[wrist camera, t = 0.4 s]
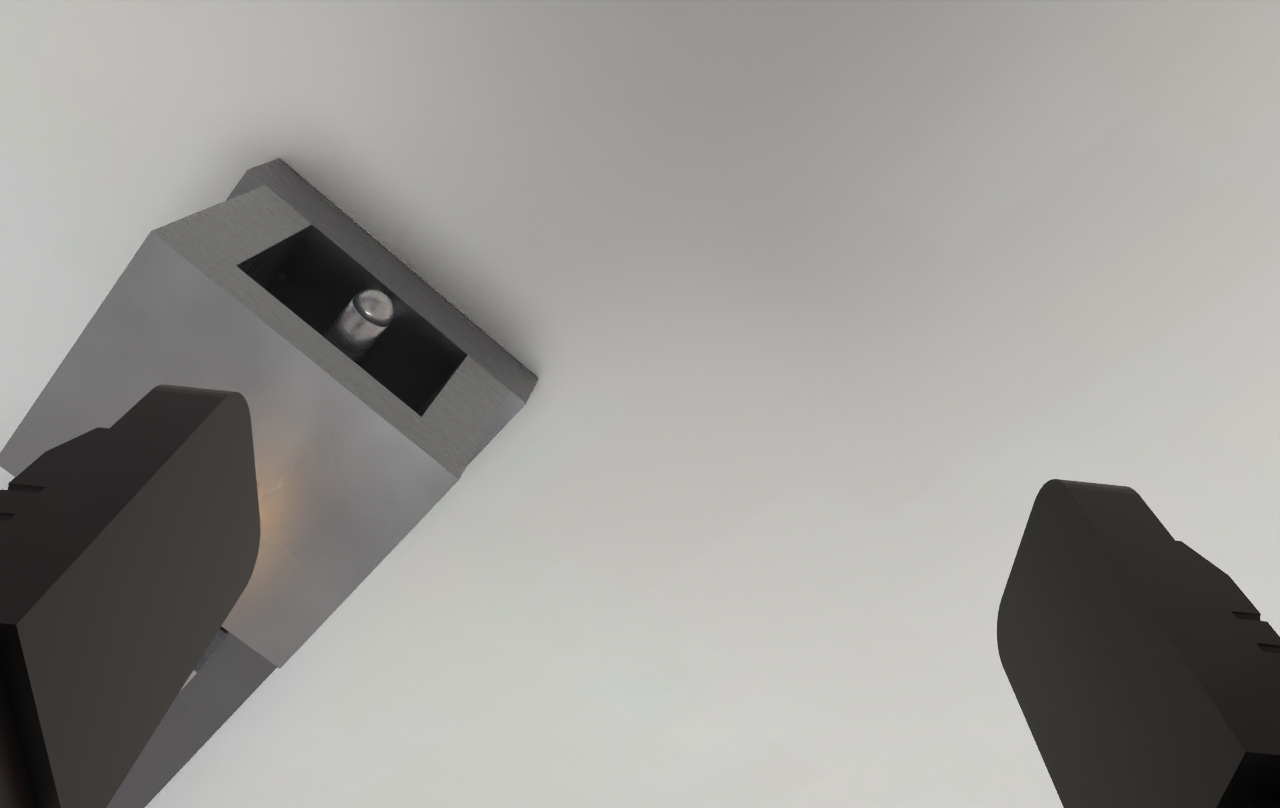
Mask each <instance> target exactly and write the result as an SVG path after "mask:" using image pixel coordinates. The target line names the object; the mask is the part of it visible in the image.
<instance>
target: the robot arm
mask: <svg viewBox="0 0 1280 808" xmlns="http://www.w3.org/2000/svg"><path fill="white" fill-rule="evenodd" d="M260 530H261V526H260V513H259V502H258V491H257V480H256V469H255V458H254V448H253V437H252V426H251V417H250V411H249V407H248V404H247V401H246V399H245V398H244V396H243V395H242V394H241V393H239V392H233V391H224V390H214V389H204V388H195V387H185V386H176V385H166V384H162V385H158V386H156V387H155V388H153V389H152V390H151V391H150V392H149V393H147V394H146V395H145V396H144V397H143V398H142V399H141V400H140V401H139V402H138V403H137V404H135V405H134V406H133V407H132V408H131V409H130V410H129V411H128V412H127V413H126V414H125V415H123V416H122V417H121V418H120V419H119V420H118V421H117V422H116V423H115V424H114V425H113V426H111V427H110V428H101V427H97V428H95V429H93V430H91V431H89V432H87V433H84V434H82V435H80V436H78V437H76V438H74V439H72V440H69V441H67V442H65V443H63V444H61V445H59V446H56V447H54V448H52V449H50V450H48V451H46V452H44V453H43V454H42V455H41V456H40V457H39V458H37V459H36V460H35V461H34V462H33V463H32V464H30V465H29V466H28V467H27V468H26V469H25V470H24V471H22V472H21V473H20V474H19V475H18V476H17V477H15V478H14V479H13V480H12V481H11V482H10V483H9V487H8V490H0V808H106V807H107V806H108V804H109V803H110V801H111V799H112V798H113V796H114V795H115V793H116V792H117V790H118V788H119V787H120V785H121V784H122V782H123V781H124V779H125V777H126V776H127V774H128V773H129V771H130V770H131V768H132V766H133V765H134V763H135V762H136V760H137V758H138V757H139V755H140V754H141V752H142V751H143V749H144V747H145V746H146V744H147V743H148V741H149V740H150V738H151V736H152V735H153V733H154V732H155V730H156V728H157V727H158V725H159V724H160V722H161V721H162V719H163V717H164V716H165V714H166V713H167V711H168V710H169V708H170V706H171V705H172V703H173V702H174V700H175V698H176V697H177V695H178V694H179V692H180V691H181V689H182V687H183V686H184V684H185V683H186V681H187V680H188V678H189V676H190V675H191V673H192V672H193V670H194V668H195V667H196V665H197V664H198V662H199V661H200V659H201V657H202V656H203V654H204V653H205V651H206V650H207V648H208V646H209V645H210V643H211V642H212V640H213V638H214V637H215V635H216V634H217V632H218V631H219V629H220V627H221V626H222V624H223V623H224V621H225V620H226V618H227V616H228V615H229V613H230V612H231V610H232V608H233V607H234V605H235V604H236V602H237V601H238V599H239V597H240V596H241V594H242V593H243V591H244V590H245V588H246V586H247V584H248V583H249V580H250V578H251V576H252V573H253V570H254V567H255V564H256V560H257V556H258V551H259V544H260ZM1260 615H1261V614H1260V613H1259V611H1258V610H1257V609H1256V608H1255V607H1254V605H1253V604H1252V603H1251V602H1250V601H1249V599H1248V598H1247V597H1246V596H1245V595H1244V593H1243V592H1242V591H1241V590H1240V588H1239V587H1238V586H1237V585H1236V584H1235V582H1234V581H1233V580H1232V579H1231V578H1230V576H1229V575H1227V574H1226V573H1224V572H1223V571H1222V570H1220V569H1219V568H1217V567H1216V566H1215V565H1213V564H1212V563H1211V562H1209V561H1208V560H1206V559H1205V558H1204V557H1202V556H1201V555H1199V554H1198V553H1197V552H1195V551H1194V550H1193V549H1191V548H1190V547H1188V546H1187V545H1186V544H1184V543H1183V542H1182V541H1175V540H1174V538H1173V537H1172V536H1171V535H1170V533H1169V532H1168V531H1167V530H1166V528H1165V527H1164V526H1163V525H1162V523H1161V522H1160V521H1159V520H1158V518H1157V517H1156V516H1155V514H1154V513H1153V512H1152V511H1151V509H1150V508H1149V507H1148V506H1147V504H1146V503H1145V502H1144V501H1143V499H1142V498H1141V497H1140V495H1139V494H1138V493H1137V492H1136V491H1135V490H1133V489H1132V488H1130V487H1126V486H1116V485H1107V484H1097V483H1087V482H1078V481H1068V480H1059V479H1053V480H1050V481H1048V482H1047V483H1045V484H1044V485H1043V487H1042V488H1041V489H1040V491H1039V493H1038V495H1037V497H1036V499H1035V502H1034V505H1033V508H1032V511H1031V513H1030V516H1029V519H1028V522H1027V525H1026V528H1025V531H1024V534H1023V537H1022V540H1021V543H1020V546H1019V549H1018V552H1017V555H1016V558H1015V561H1014V564H1013V567H1012V570H1011V573H1010V575H1009V578H1008V581H1007V584H1006V587H1005V590H1004V593H1003V596H1002V599H1001V603H1000V607H999V612H998V620H997V642H998V650H999V655H1000V659H1001V662H1002V665H1003V668H1004V670H1005V672H1006V675H1007V677H1008V679H1009V682H1010V684H1011V686H1012V688H1013V691H1014V693H1015V695H1016V698H1017V700H1018V702H1019V705H1020V707H1021V709H1022V712H1023V714H1024V716H1025V719H1026V721H1027V723H1028V726H1029V728H1030V730H1031V732H1032V735H1033V737H1034V739H1035V742H1036V744H1037V746H1038V749H1039V751H1040V753H1041V756H1042V758H1043V760H1044V763H1045V765H1046V767H1047V770H1048V772H1049V774H1050V777H1051V779H1052V781H1053V783H1054V786H1055V788H1056V790H1057V793H1058V795H1059V797H1060V800H1061V802H1062V804H1063V807H1064V808H1280V637H1279V636H1278V634H1277V633H1276V632H1275V631H1274V630H1273V628H1272V627H1271V626H1270V625H1269V623H1268V622H1264V621H1260Z"/></svg>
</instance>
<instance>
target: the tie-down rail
mask: <svg viewBox="0 0 1280 808" xmlns="http://www.w3.org/2000/svg"><path fill="white" fill-rule="evenodd" d="M370 289H372V290H378V291H380V292H382V293H384V294H385V295H386V296H387V297H388V298H389V299H390V300H391V302H392V305H393V309H394V314H393V319H392V321H391V323H390V324H389V326H388V327H387V328H386V329H385V330H384V332H383V333H382V334H381V335H380V336H379V338H378V339H377V340H376V341H375V342H374V344H373V345H372V346H371V347H370V348H369V350H368V351H367V352H366V353H365V354H364V356H363V357H362V358H361V359H360V360H359V362H358V363H357V364H356V363H355V362H354V361H352V360H351V359H350V358H349V357H347V356H346V355H345V354H344V353H342V352H341V351H340V350H339V349H338V348H336V347H335V346H334V345H333V344H331V343H330V342H329V341H328V340H327V339H325V338H324V337H323V335H324V333H325V332H326V331H327V330H328V328H329V327H330V326H331V325H332V324H333V322H334V321H335V320H336V319H337V317H338V316H339V315H340V314H341V312H342V311H343V310H344V309H345V307H346V306H347V305H348V304H349V302H350V301H351V300H352V299H353V297H354V296H355V295H356V294H358V293H359V292H361V291H364V290H370ZM537 381H538V378H537V377H536V376H534V375H533V374H532V373H531V372H530V371H528V370H527V369H526V368H525V367H524V366H523V365H521V364H520V363H519V362H518V361H517V360H516V359H514V358H513V357H512V356H511V355H510V354H508V353H507V352H506V351H505V350H504V349H503V348H501V347H500V346H499V345H498V344H497V343H496V342H494V341H493V340H492V339H491V338H490V337H488V336H487V335H486V334H485V333H484V332H483V331H481V330H480V329H479V328H478V327H477V326H476V325H474V324H473V323H472V322H471V321H470V320H468V319H467V318H466V317H465V316H464V315H463V314H461V313H460V312H459V311H458V310H457V309H456V308H454V307H453V306H452V305H451V304H450V303H449V302H447V301H446V300H445V299H444V298H443V297H441V296H440V295H439V294H438V293H437V292H436V291H434V290H433V289H432V288H431V287H430V286H429V285H427V284H426V283H425V282H424V281H423V280H421V279H420V278H419V277H418V276H417V275H416V274H414V273H413V272H412V271H411V270H410V269H409V268H407V267H406V266H405V265H404V264H403V263H401V262H400V261H399V260H398V259H397V258H396V257H394V256H393V255H392V254H391V253H390V252H389V251H387V250H386V249H385V248H384V247H383V246H382V245H380V244H379V243H378V242H377V241H376V240H374V239H373V238H372V237H371V236H370V235H369V234H367V233H366V232H365V231H364V230H363V229H362V228H360V227H359V226H358V225H357V224H356V223H354V222H353V221H352V220H351V219H350V218H349V217H347V216H346V215H345V214H344V213H343V212H342V211H340V210H339V209H338V208H337V207H336V206H334V205H333V204H332V203H331V202H330V201H329V200H327V199H326V198H325V197H324V196H323V195H322V194H320V193H319V192H318V191H317V190H316V189H314V188H313V187H312V186H311V185H310V184H309V183H307V182H306V181H305V180H304V179H303V178H302V177H300V176H299V175H298V174H297V173H296V172H295V171H293V170H292V169H291V168H290V167H289V166H287V165H286V164H285V163H284V162H283V161H282V160H280V159H276V160H274V161H271V162H268V163H265V164H262V165H260V166H257V167H254V168H251V169H249V170H247V171H246V173H245V174H244V176H243V177H242V179H241V180H240V181H239V183H238V184H237V186H236V187H235V188H234V190H233V191H232V193H231V194H230V196H229V197H228V198H227V200H226V201H224V202H222V203H219V204H217V205H215V206H212V207H210V208H207V209H205V210H202V211H200V212H197V213H195V214H192V215H190V216H187V217H185V218H183V219H180V220H178V221H175V222H173V223H170V224H168V225H165V226H163V227H160V228H158V229H155V230H153V231H151V232H150V234H149V235H148V237H147V238H146V240H145V241H144V243H143V244H142V245H141V247H140V248H139V250H138V251H137V253H136V254H135V256H134V257H133V259H132V260H131V262H130V263H129V265H128V266H127V268H126V269H125V270H124V272H123V273H122V275H121V276H120V278H119V279H118V281H117V282H116V284H115V285H114V287H113V288H112V290H111V291H110V293H109V294H108V295H107V297H106V298H105V300H104V301H103V303H102V304H101V306H100V307H99V309H98V310H97V312H96V313H95V315H94V316H93V318H92V319H91V320H90V322H89V323H88V325H87V326H86V328H85V329H84V331H83V332H82V334H81V335H80V337H79V338H78V340H77V341H76V343H75V344H74V345H73V347H72V348H71V350H70V351H69V353H68V354H67V356H66V357H65V359H64V360H63V362H62V363H61V365H60V366H59V368H58V369H57V370H56V372H55V373H54V375H53V376H52V378H51V379H50V381H49V382H48V384H47V385H46V387H45V388H44V390H43V391H42V393H41V394H40V395H39V397H38V398H37V400H36V401H35V403H34V404H33V406H32V407H31V409H30V410H29V412H28V413H27V415H26V416H25V418H24V419H23V421H22V422H21V423H20V425H19V426H18V428H17V429H16V431H15V432H14V434H13V435H12V437H11V438H10V440H9V441H8V443H7V444H6V446H5V447H4V448H3V450H2V451H1V453H0V466H1V467H2V468H4V469H5V470H6V471H8V472H9V473H10V474H12V475H13V476H15V477H17V476H18V475H19V474H20V473H21V472H22V471H24V470H25V469H26V468H27V467H28V466H29V465H30V464H32V463H33V462H34V461H35V460H36V459H37V458H39V457H40V456H41V455H42V454H43V453H44V452H46V451H48V450H50V449H52V448H54V447H56V446H59V445H61V444H63V443H65V442H67V441H69V440H72V439H74V438H76V437H78V436H80V435H82V434H84V433H87V432H89V431H91V430H93V429H95V428H97V427H101V428H110V427H111V426H113V425H114V424H115V423H116V422H117V421H118V420H119V419H120V418H121V417H122V416H123V415H125V414H126V413H127V412H128V411H129V410H130V409H131V408H132V407H133V406H134V405H135V404H137V403H138V402H139V401H140V400H141V399H142V398H143V397H144V396H145V395H146V394H147V393H149V392H150V391H151V390H152V389H153V388H155V387H156V386H158V385H162V384H166V385H176V386H185V387H195V388H204V389H214V390H224V391H233V392H239V393H241V394H242V395H243V396H244V398H245V399H246V401H247V404H248V407H249V411H250V417H251V426H252V437H253V448H254V458H255V469H256V480H257V491H258V502H259V513H260V526H261V530H260V544H259V551H258V556H257V560H256V564H255V567H254V570H253V573H252V576H251V578H250V580H249V583H248V584H247V586H246V588H245V590H244V591H243V593H242V594H241V596H240V597H239V599H238V601H237V602H236V604H235V605H234V607H233V608H232V610H231V612H230V613H229V615H228V616H227V618H226V620H225V621H224V623H223V624H222V626H221V627H220V630H222V631H223V632H225V633H226V634H227V636H226V637H225V638H224V640H223V641H222V642H221V643H220V645H219V646H218V647H217V648H216V650H215V651H214V652H213V653H212V655H211V656H210V657H209V659H208V660H207V661H206V662H205V664H204V665H203V666H202V667H201V669H200V670H199V671H198V672H197V673H196V675H195V676H194V677H193V678H192V679H191V680H190V681H189V682H188V684H187V685H186V686H185V687H184V688H183V689H182V690H181V691H180V692H179V694H178V695H177V697H176V698H175V700H174V702H173V703H172V705H171V706H170V708H169V710H168V711H167V713H166V714H165V716H164V717H163V719H162V721H161V722H160V724H159V725H158V727H157V728H156V730H155V732H154V733H153V735H152V736H151V738H150V740H149V741H148V743H147V744H146V746H145V747H144V749H143V751H142V752H141V754H140V755H139V757H138V758H137V760H136V762H135V763H134V765H133V766H132V768H131V770H130V771H129V773H128V774H127V776H126V777H125V779H124V781H123V782H122V784H121V785H120V787H119V788H118V790H117V792H116V793H115V795H114V796H113V798H112V799H111V801H110V803H109V804H108V806H107V807H106V808H144V807H145V806H146V805H147V804H148V803H149V802H150V801H151V800H152V799H153V798H154V797H155V796H156V795H157V794H158V793H159V791H160V790H161V789H162V788H163V787H164V786H165V785H166V784H167V783H168V782H169V781H170V780H171V779H172V778H173V777H174V776H175V775H176V773H177V772H178V771H179V770H180V769H181V768H182V767H183V766H184V765H185V764H186V763H187V762H188V761H189V760H190V759H191V758H192V757H193V755H194V754H195V753H196V752H197V751H198V750H199V749H200V748H201V747H202V746H203V745H204V744H205V743H206V742H207V741H208V740H209V739H210V737H211V736H212V735H213V734H214V733H215V732H216V731H217V730H218V729H219V728H220V727H221V726H222V725H223V724H224V723H225V722H226V721H227V719H228V718H229V717H230V716H231V715H232V714H233V713H234V712H235V711H236V710H237V709H238V708H239V707H240V706H241V705H242V704H243V703H244V701H245V700H246V699H247V698H248V697H249V696H250V695H251V694H252V693H253V692H254V691H255V690H256V689H257V688H258V687H259V686H260V685H261V683H262V682H263V681H264V680H265V679H266V678H267V677H268V676H269V675H270V674H271V673H272V672H273V671H274V670H275V669H276V668H277V667H278V668H281V667H282V666H283V665H284V664H285V663H286V662H287V661H288V660H289V658H290V657H291V656H292V655H293V654H294V653H295V652H296V651H297V650H298V649H299V648H300V647H301V646H302V645H303V644H304V643H305V642H306V641H307V639H308V638H309V637H310V636H311V635H312V634H313V633H314V632H315V631H316V630H317V629H318V628H319V627H320V626H321V625H322V624H323V623H324V622H325V620H326V619H327V618H328V617H329V616H330V615H331V614H332V613H333V612H334V611H335V610H336V609H337V608H338V607H339V606H340V605H341V604H342V603H343V601H344V600H345V599H346V598H347V597H348V596H349V595H350V594H351V593H352V592H353V591H354V590H355V589H356V588H357V587H358V586H359V585H360V584H361V582H362V581H363V580H364V579H365V578H366V577H367V576H368V575H369V574H370V573H371V572H372V571H373V570H374V569H375V568H376V567H377V566H378V565H379V563H380V562H381V561H382V560H383V559H384V558H385V557H386V556H387V555H388V554H389V553H390V552H391V551H392V550H393V549H394V548H395V547H396V546H397V544H398V543H399V542H400V541H401V540H402V539H403V538H404V537H405V536H406V535H407V534H408V533H409V532H410V531H411V530H412V529H413V528H414V527H415V525H416V524H417V523H418V522H419V521H420V520H421V519H422V518H423V517H424V516H425V515H426V514H427V513H428V512H429V511H430V510H431V509H432V508H433V506H434V505H435V504H436V503H437V502H438V501H439V500H440V499H441V498H442V497H443V496H444V495H445V494H446V493H447V492H448V491H449V490H450V489H451V487H452V486H453V485H454V484H455V483H456V482H457V481H458V480H459V479H460V477H461V475H462V473H463V472H464V470H465V468H466V466H467V465H468V464H469V463H470V462H471V461H472V460H473V459H474V458H475V457H476V456H477V455H478V454H479V453H480V452H481V451H482V449H483V448H484V447H485V446H486V445H487V444H488V443H489V442H490V441H491V440H492V439H493V438H494V437H495V436H496V435H497V434H498V433H499V431H500V430H501V429H502V428H503V427H504V426H505V425H506V424H507V423H508V422H509V421H510V420H511V419H512V418H513V417H514V416H515V415H516V413H517V412H518V411H519V410H520V409H521V408H522V407H523V406H524V405H525V404H526V402H527V400H528V398H529V396H530V394H531V393H532V391H533V389H534V387H535V385H536V383H537Z"/></svg>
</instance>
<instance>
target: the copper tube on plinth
mask: <svg viewBox="0 0 1280 808" xmlns="http://www.w3.org/2000/svg"><path fill="white" fill-rule="evenodd" d="M393 314H394V309H393V305H392V302H391V300H390V299H389V298H388V297H387V296H386V295H385V294H384V293H382V292H380V291H378V290H372V289H370V290H364V291H361V292H359V293H358V294H356V295H355V296H354V297H353V299H352V300H351V301H350V302H349V304H348V305H347V306H346V307H345V309H344V310H343V311H342V312H341V314H340V315H339V316H338V317H337V319H336V320H335V321H334V322H333V324H332V325H331V326H330V327H329V328H328V330H327V331H326V332H325V333H324V335H323V337H324V338H325V339H327V340H328V341H329V342H330V343H331V344H333V345H334V346H335V347H336V348H338V349H339V350H340V351H341V352H342V353H344V354H345V355H346V356H347V357H349V358H350V359H351V360H352V361H354V362H355V363H356V364H357V363H358V362H359V360H360V359H361V358H362V357H363V356H364V354H365V353H366V352H367V351H368V350H369V348H370V347H371V346H372V345H373V344H374V342H375V341H376V340H377V339H378V338H379V336H380V335H381V334H382V333H383V332H384V330H385V329H386V328H387V327H388V326H389V324H390V323H391V321H392V319H393ZM226 636H227V634H226V633H225V632H223V631H222V630H220V629H219V631H218V632H217V634H216V635H215V637H214V638H213V640H212V642H211V643H210V645H209V646H208V648H207V650H206V651H205V653H204V654H203V656H202V657H201V659H200V661H199V662H198V664H197V665H196V667H195V668H194V670H193V672H192V673H191V675H190V676H189V678H188V680H187V681H186V683H185V684H184V686H183V687H182V689H183V688H184V687H185V686H186V685H187V684H188V682H189V681H190V680H191V679H192V678H193V677H194V676H195V675H196V673H197V672H198V671H199V670H200V669H201V667H202V666H203V665H204V664H205V662H206V661H207V660H208V659H209V657H210V656H211V655H212V653H213V652H214V651H215V650H216V648H217V647H218V646H219V645H220V643H221V642H222V641H223V640H224V638H225V637H226ZM182 689H181V690H182Z"/></svg>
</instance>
